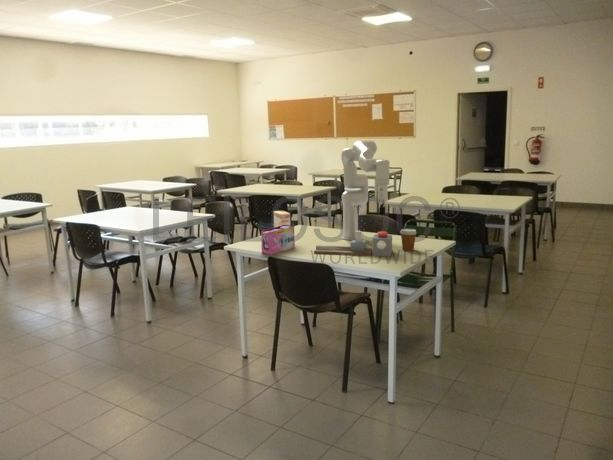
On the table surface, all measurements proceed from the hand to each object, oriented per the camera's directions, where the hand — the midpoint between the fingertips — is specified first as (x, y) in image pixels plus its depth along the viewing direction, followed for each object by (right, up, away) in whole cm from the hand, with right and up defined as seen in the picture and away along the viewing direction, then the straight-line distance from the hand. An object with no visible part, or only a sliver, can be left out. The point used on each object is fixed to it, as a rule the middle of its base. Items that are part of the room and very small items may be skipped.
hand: (382, 214), depth 291 cm
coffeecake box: (-59, -17, +43) cm, 75 cm away
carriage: (-13, -21, +7) cm, 25 cm away
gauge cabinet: (+1, -23, +4) cm, 23 cm away
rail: (-21, -22, +9) cm, 32 cm away
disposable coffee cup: (+17, -21, +12) cm, 30 cm away
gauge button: (+1, -19, +3) cm, 20 cm away
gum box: (-60, -22, +19) cm, 66 cm away
